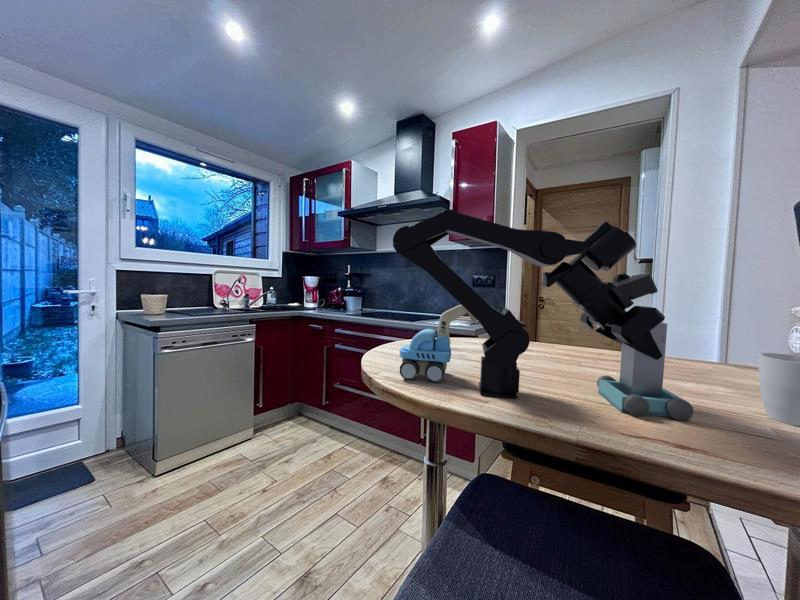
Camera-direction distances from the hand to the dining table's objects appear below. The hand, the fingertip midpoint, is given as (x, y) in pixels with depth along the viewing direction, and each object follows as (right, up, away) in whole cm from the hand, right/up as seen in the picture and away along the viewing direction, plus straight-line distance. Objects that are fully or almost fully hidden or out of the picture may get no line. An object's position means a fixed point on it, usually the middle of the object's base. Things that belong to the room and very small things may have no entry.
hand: (651, 354), depth 56 cm
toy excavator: (-36, -8, +14) cm, 39 cm away
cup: (+19, -10, -4) cm, 22 cm away
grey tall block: (-2, -7, +1) cm, 7 cm away
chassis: (-2, -9, +1) cm, 9 cm away
